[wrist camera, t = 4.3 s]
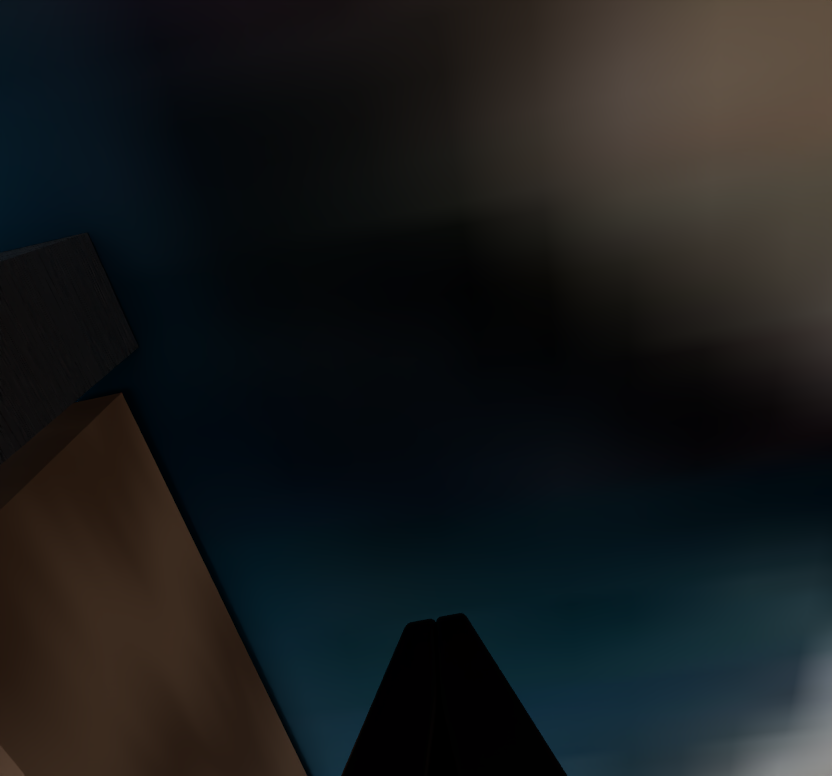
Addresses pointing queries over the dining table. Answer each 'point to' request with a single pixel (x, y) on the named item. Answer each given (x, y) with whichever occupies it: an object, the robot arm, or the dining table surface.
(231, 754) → the brown wooden plank
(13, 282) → the frame
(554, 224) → the dining table surface
